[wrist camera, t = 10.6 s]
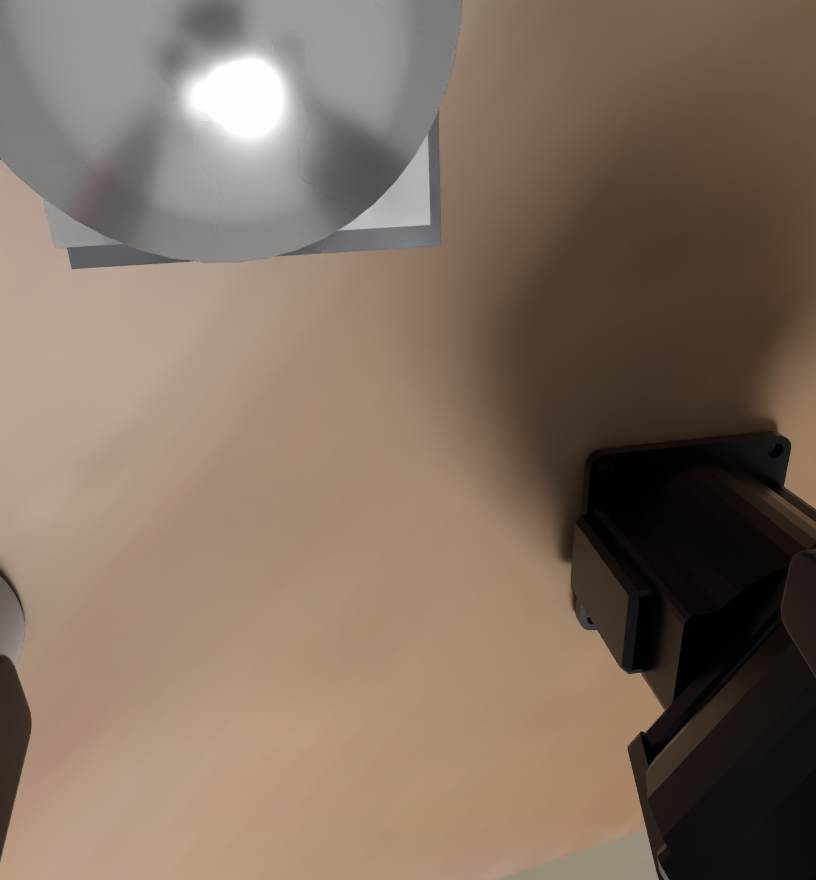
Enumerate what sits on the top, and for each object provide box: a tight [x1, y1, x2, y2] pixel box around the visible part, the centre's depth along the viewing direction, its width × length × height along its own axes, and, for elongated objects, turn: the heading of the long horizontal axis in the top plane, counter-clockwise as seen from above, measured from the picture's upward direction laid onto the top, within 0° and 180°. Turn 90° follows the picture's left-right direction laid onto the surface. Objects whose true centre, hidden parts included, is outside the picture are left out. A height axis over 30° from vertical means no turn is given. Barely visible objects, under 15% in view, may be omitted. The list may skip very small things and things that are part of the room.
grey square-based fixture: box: [0, 0, 462, 263], centre depth 11 cm, size 6×6×6 cm
